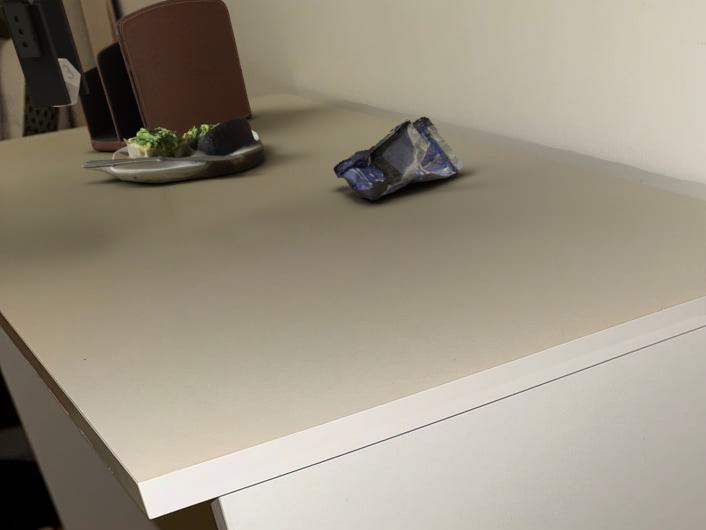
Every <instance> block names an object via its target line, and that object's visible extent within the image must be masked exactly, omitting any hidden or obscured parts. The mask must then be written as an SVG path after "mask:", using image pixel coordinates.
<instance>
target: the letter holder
mask: <svg viewBox="0 0 706 530" xmlns="http://www.w3.org/2000/svg"><path fill="white" fill-rule="evenodd" d="M115 33H116V38H117V40H115V41H113V42H111V43H109V44H108V45H106V46H104V47H103V48H101V49H99V50H98V51H97V53H96V55H95V63H96V65H93V66H91V67H90V68H87V69H86V70H83V72H84V75H85V79H86V82H87V85H88V89H89V92H90V93H89V94H87V95H79V96H78V100H79V101H78V102H79V105H80V107H81V111H82V114H83V117H84V122H85V124H86V128H87V129H86V130H87V132H88V135H89V139H90V144H91V147H92V149H93V150H94V151H96V152H105V151H106V152H116V151H118V150H120V149H122V148H124V147H127V144H126V142H125V141H124V139H123V138H125V139H126V140H127V141H128V140H129V139H130V138H134V137H136V136H137V133H138V132H139V131H140V130H141V128H144V129H146V130H147V129H156V128H159V127H161V128H164V129H167V130H169V131H173V132H175V131H176V132H178V133H179V134H180V136H183V135H184V134H185V133H188V132H189V130H190V129H193V128H194V126H195V127H196V128H197V129H200V127H201V125H205V124H206V125H217V124H218V123H222V122H225V121H228V120H230V119H234V118H246V119H247V120H248V119H251V118H252V116H253V114H252V107H251V105H250V101H249V96H248V92H247V87H246V82H245V79H244V75H243V69H242V65H241V60H240V56H239V51H238V46H237V41H236V38H235V37H236V36H235V33H234V29H233V24H232V21H231V16H230V12H229V9H228V6H227V5H226V3H225V2H224V1H223V0H162V1H158V2H155V3H152V4H149V5H146V6H144V7H141V8H138V9H136V10H134V11H132V12H130V13H128V14H126V15H124V16H122V17H121V18H119V19H118V20H117V22H116V25H115Z"/></svg>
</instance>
